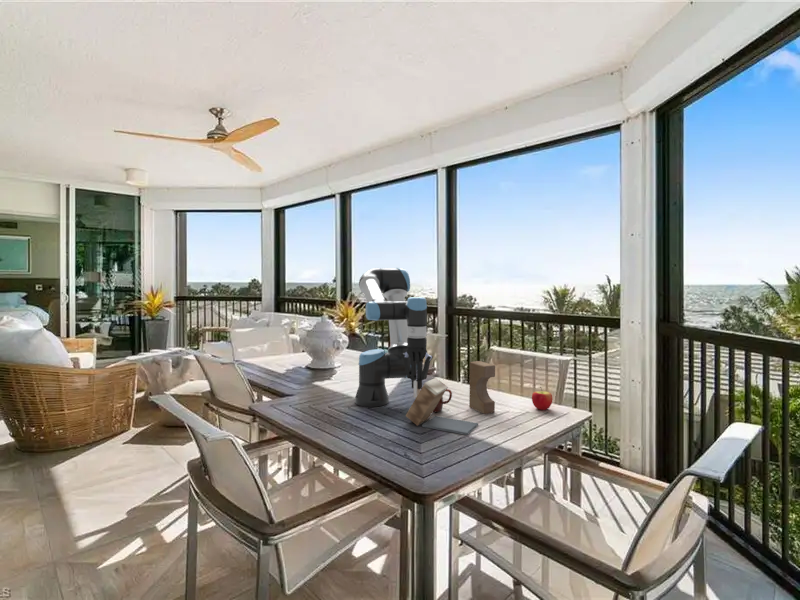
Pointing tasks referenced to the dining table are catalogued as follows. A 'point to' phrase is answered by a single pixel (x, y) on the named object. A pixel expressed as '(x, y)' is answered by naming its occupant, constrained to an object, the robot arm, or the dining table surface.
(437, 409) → the mug
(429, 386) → the brown and cream block
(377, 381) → the robot arm
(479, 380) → the decorative block
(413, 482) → the dining table surface
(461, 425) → the mat
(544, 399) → the apple
